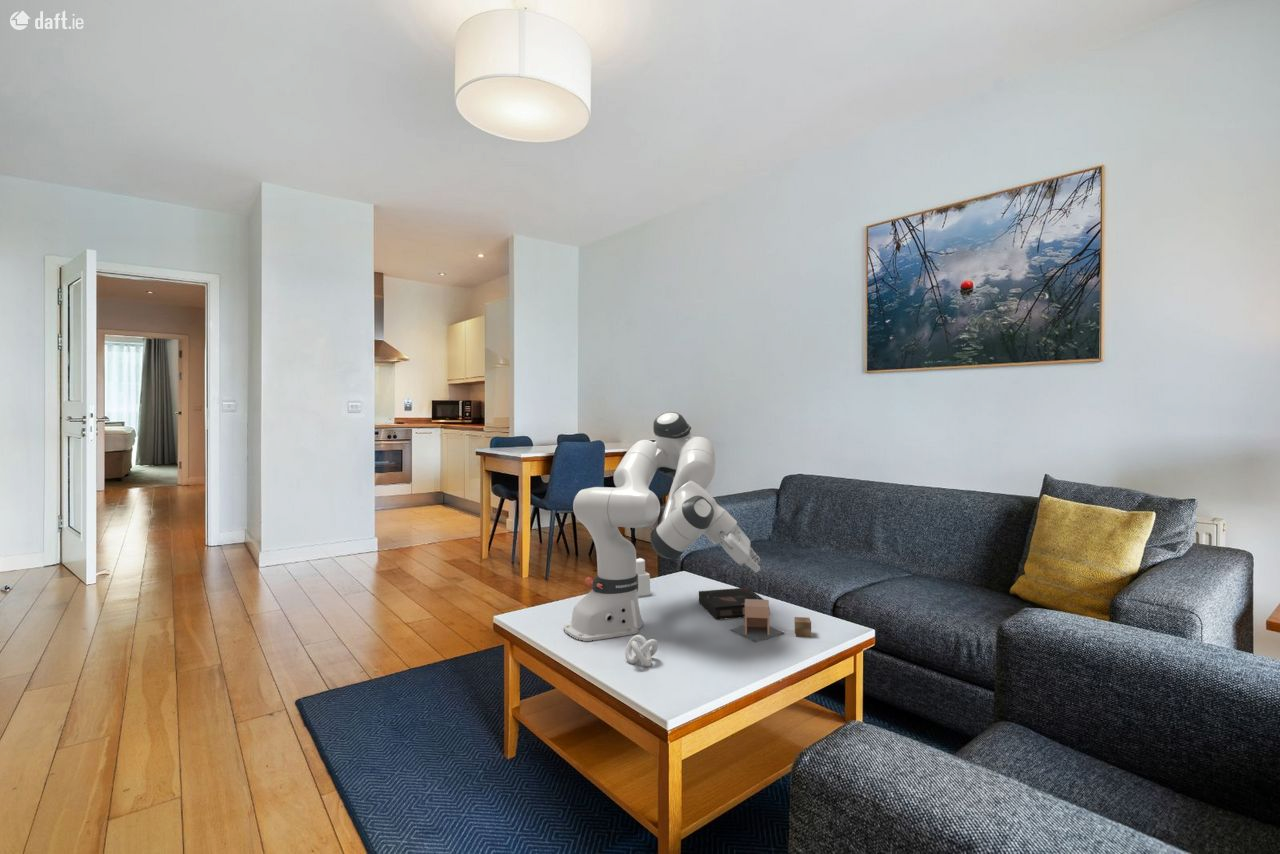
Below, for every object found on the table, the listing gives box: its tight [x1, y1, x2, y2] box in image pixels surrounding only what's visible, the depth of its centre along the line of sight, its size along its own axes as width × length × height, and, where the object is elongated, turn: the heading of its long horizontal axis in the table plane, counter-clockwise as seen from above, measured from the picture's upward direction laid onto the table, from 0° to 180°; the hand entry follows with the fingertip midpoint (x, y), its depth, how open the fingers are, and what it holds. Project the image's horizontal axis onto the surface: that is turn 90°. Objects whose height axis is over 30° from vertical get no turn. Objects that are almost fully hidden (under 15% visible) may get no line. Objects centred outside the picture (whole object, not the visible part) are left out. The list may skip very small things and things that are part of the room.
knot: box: [625, 634, 659, 668], centre depth 146 cm, size 8×8×6 cm
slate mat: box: [730, 624, 785, 643], centre depth 165 cm, size 10×10×1 cm
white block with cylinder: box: [636, 556, 651, 598], centre depth 202 cm, size 7×7×12 cm
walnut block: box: [793, 616, 812, 638], centre depth 163 cm, size 4×4×4 cm
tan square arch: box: [744, 599, 770, 635], centre depth 165 cm, size 6×6×8 cm
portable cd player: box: [698, 587, 770, 620], centre depth 185 cm, size 16×17×4 cm
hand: (758, 565), depth 164 cm, fingers open, 8 cm apart
